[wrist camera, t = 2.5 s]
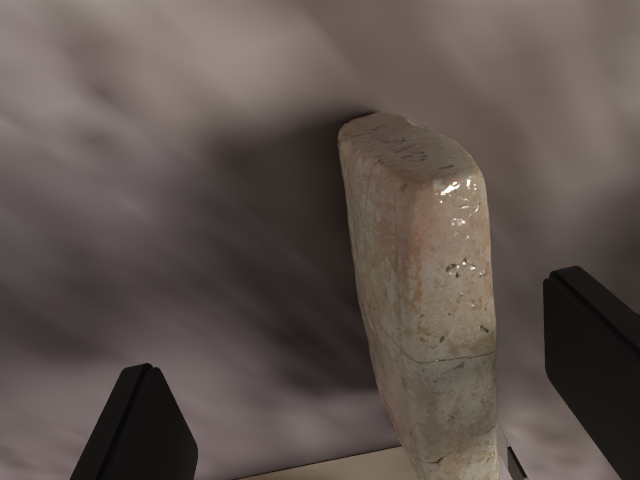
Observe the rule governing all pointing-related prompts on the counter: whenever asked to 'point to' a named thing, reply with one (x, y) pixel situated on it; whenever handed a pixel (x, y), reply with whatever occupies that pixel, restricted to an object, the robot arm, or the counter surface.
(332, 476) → the birch block
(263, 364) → the counter surface
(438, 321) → the stone tablet
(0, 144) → the counter surface
